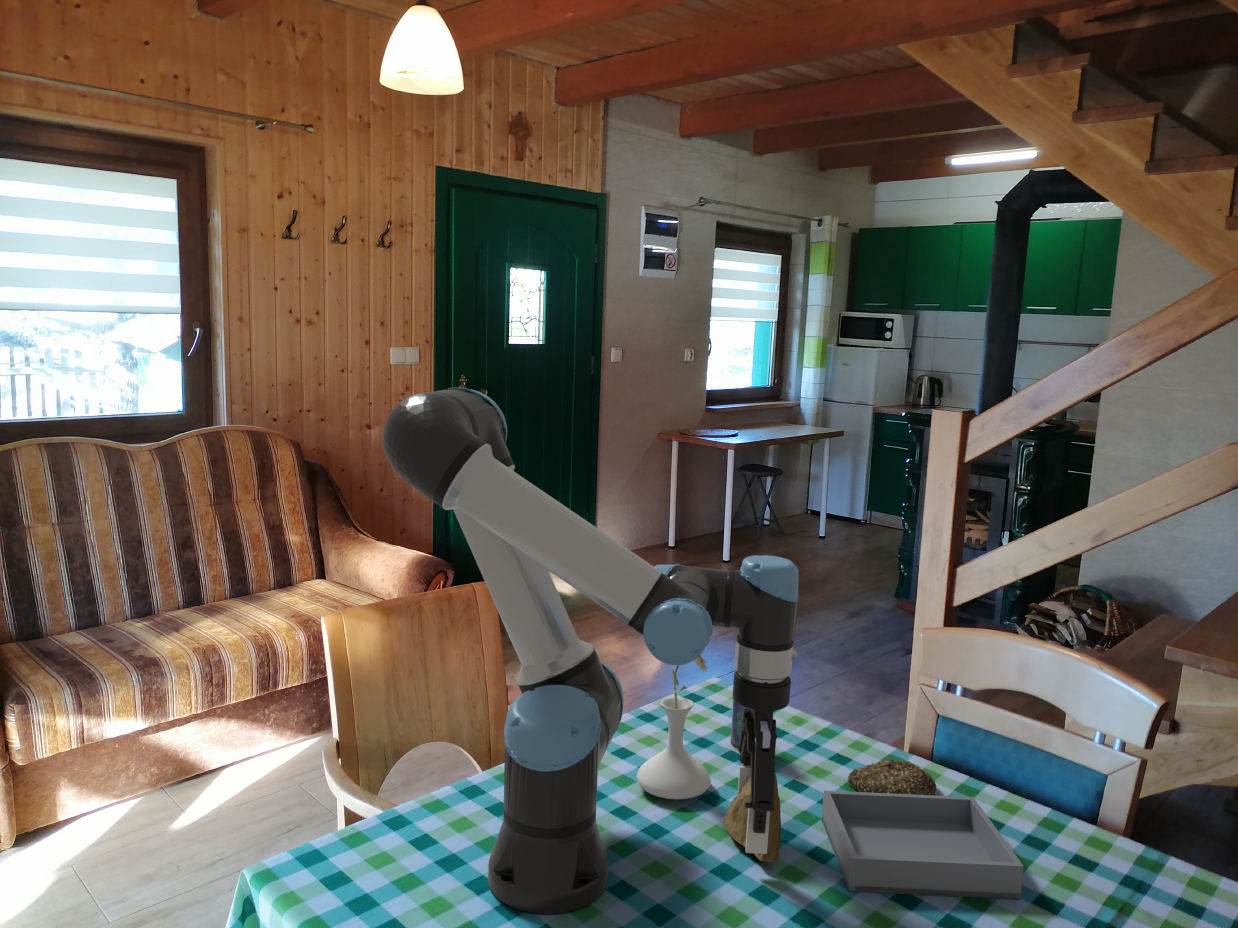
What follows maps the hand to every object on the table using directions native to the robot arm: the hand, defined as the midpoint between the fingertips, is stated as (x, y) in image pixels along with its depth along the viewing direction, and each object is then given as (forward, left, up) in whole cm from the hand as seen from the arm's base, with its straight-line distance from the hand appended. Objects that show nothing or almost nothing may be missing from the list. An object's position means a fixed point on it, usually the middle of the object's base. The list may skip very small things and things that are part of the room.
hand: (750, 829), depth 126 cm
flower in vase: (-10, +17, -3) cm, 20 cm away
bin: (+22, 0, -3) cm, 22 cm away
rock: (0, 0, -2) cm, 2 cm away
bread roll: (+25, +19, -3) cm, 32 cm away
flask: (+3, +30, -3) cm, 30 cm away
